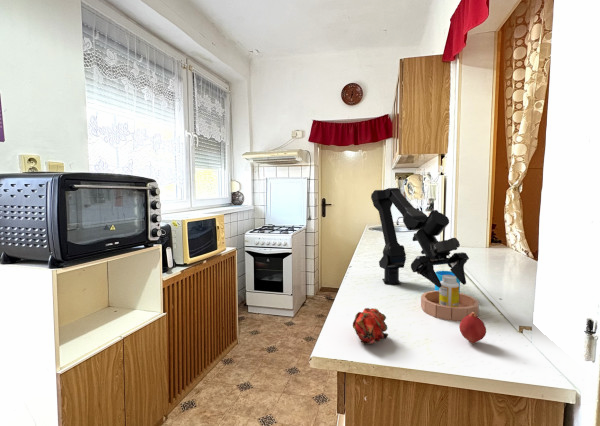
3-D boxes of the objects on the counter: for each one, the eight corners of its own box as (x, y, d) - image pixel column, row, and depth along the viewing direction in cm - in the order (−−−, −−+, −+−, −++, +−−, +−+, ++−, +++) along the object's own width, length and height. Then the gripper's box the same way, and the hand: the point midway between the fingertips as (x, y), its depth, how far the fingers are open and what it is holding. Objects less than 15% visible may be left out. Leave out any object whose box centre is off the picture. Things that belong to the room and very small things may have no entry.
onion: (454, 338, 82) (455, 308, 82) (475, 337, 83) (476, 307, 82) (468, 349, 76) (468, 317, 76) (490, 348, 77) (491, 316, 76)
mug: (460, 301, 109) (461, 277, 108) (434, 298, 112) (434, 275, 111) (458, 290, 120) (458, 269, 119) (434, 288, 123) (435, 267, 122)
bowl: (415, 301, 109) (416, 290, 109) (464, 302, 107) (465, 290, 107) (430, 320, 93) (430, 307, 93) (488, 322, 92) (488, 308, 91)
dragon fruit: (374, 334, 88) (371, 363, 77) (349, 315, 89) (342, 341, 78) (393, 314, 85) (392, 340, 74) (367, 294, 86) (362, 318, 75)
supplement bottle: (458, 306, 102) (459, 275, 101) (458, 312, 97) (459, 279, 96) (439, 303, 104) (440, 273, 103) (438, 309, 99) (439, 277, 98)
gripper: (416, 231, 99) (441, 274, 90) (465, 228, 105) (493, 269, 95) (401, 251, 108) (422, 293, 98) (447, 247, 113) (471, 287, 103)
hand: (452, 285), depth 98 cm, fingers open, 9 cm apart
